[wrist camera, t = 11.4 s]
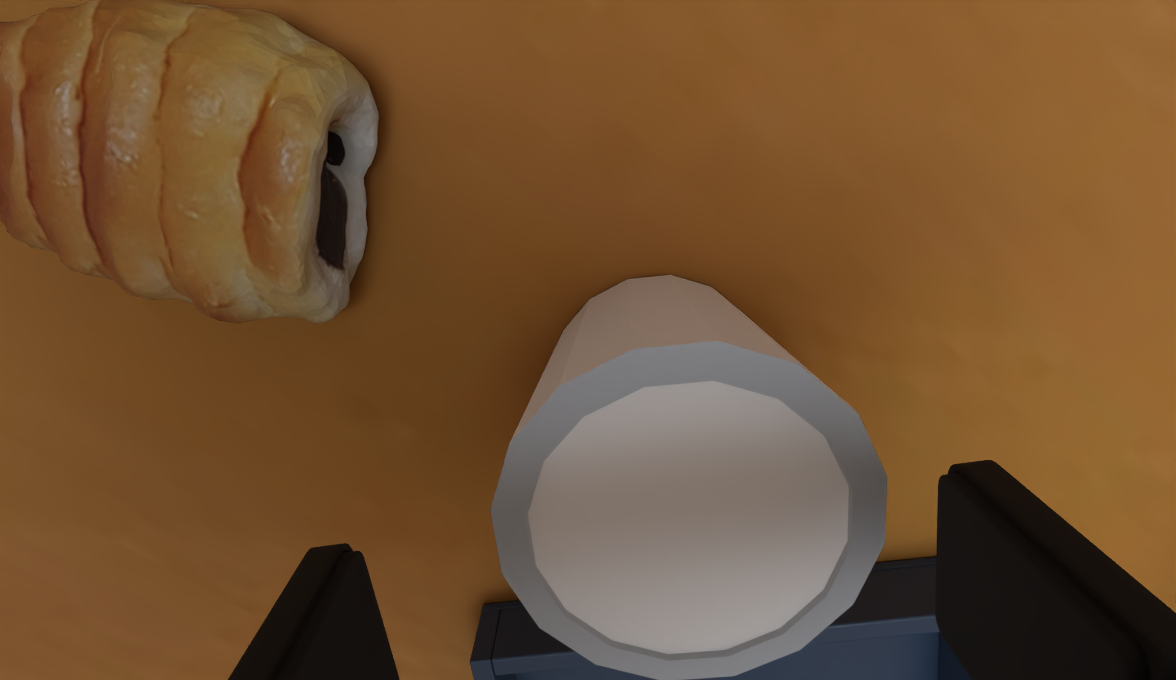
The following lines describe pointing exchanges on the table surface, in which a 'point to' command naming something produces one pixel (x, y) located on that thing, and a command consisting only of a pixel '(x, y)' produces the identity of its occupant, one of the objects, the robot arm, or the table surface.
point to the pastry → (188, 154)
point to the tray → (809, 676)
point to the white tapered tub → (685, 490)
